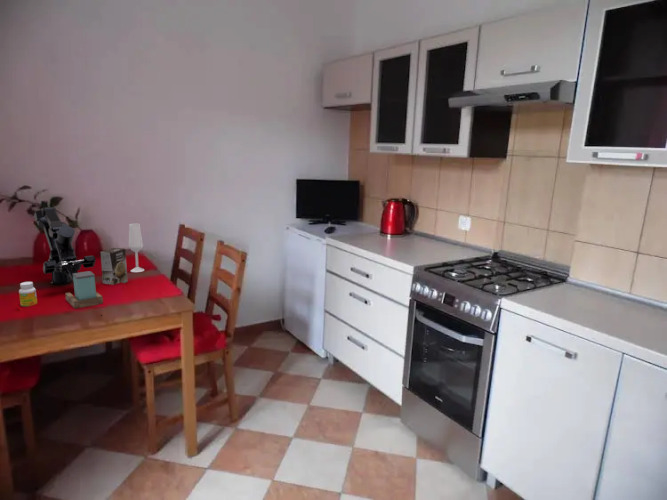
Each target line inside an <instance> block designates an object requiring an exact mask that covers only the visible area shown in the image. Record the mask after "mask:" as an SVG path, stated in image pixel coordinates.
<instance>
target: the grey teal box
mask: <svg viewBox="0 0 667 500" xmlns="http://www.w3.org/2000/svg"><path fill="white" fill-rule="evenodd" d="M72 275H73V280H72V282H73V289H74V297H75V298H76V299H77V300H78V301H80V300H85V299H91V298H96V292H97V291H96V290H97V289H96V280H95V279H96V278H95V277H96V275H95V274H94V273H93V271H90V270H89V271H80V272H77V273H73V274H72Z"/></svg>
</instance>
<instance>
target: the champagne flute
mask: <svg viewBox="0 0 667 500" xmlns="http://www.w3.org/2000/svg"><path fill="white" fill-rule="evenodd" d="M142 237H143V236H142V230H141V225H140V223H137V222H135V223H130V224H129V225H128V247H129V249H130V250H131V251H132V252H134V255H135V256H134V257H135V258H134V259H135V267H134V268H132V269H130V272H131V273H141V272H144V271H145V269H144V268H143V267H140V266H139V255H138V254H139V252H140V251H141V250H142V248H143V247H144V242H143V238H142Z"/></svg>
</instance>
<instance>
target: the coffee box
mask: <svg viewBox="0 0 667 500" xmlns="http://www.w3.org/2000/svg"><path fill="white" fill-rule="evenodd" d="M126 252H127V251H126V248H121V247H117V248H116V247H113V248H108V249H105V250H103V251H100V263H101V276H102V284H106V285H117V284H120V283H122V284H125V283H128V282H129V281H128V270H127V253H126Z"/></svg>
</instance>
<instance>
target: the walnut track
mask: <svg viewBox="0 0 667 500" xmlns="http://www.w3.org/2000/svg"><path fill="white" fill-rule="evenodd" d="M64 296H65V300H66V301H67V303H68V304H70V306H71V307H72V308H74V309H75V310H76V309H82V308H86V307H87V308H88V307H91V306H92V307H93V306H97V305H101V304H102V305H103V304H104V298H103V295H102V294H100V293H99V292H97V291H96V298H91V299H85V300H80V301H78V300H77V299H76V298H75V295H73V294H72V293H71V292H70V291H69V292H65V295H64Z"/></svg>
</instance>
